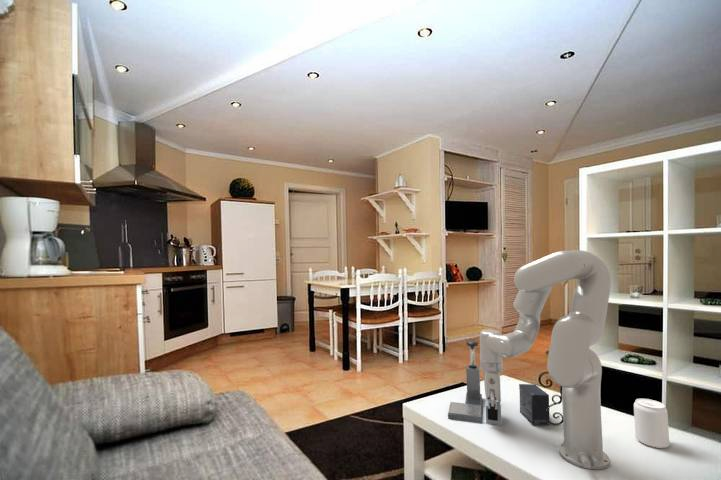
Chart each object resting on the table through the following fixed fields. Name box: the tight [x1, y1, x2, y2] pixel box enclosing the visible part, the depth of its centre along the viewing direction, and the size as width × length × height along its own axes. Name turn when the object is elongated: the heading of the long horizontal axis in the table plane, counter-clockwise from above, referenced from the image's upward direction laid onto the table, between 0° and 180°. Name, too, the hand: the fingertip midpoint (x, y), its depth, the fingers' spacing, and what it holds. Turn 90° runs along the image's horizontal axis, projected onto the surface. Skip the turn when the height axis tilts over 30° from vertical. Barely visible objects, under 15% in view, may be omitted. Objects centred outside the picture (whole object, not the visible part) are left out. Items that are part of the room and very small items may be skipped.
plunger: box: [465, 340, 479, 368], centre depth 143 cm, size 5×5×13 cm
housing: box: [484, 399, 502, 426], centre depth 125 cm, size 5×5×7 cm
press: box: [447, 364, 483, 424], centre depth 136 cm, size 22×12×13 cm, turn 161°
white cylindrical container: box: [633, 398, 670, 449], centre depth 109 cm, size 8×8×12 cm
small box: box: [518, 383, 551, 426], centre depth 126 cm, size 11×6×10 cm, turn 179°
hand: (492, 413), depth 125 cm, fingers open, 9 cm apart
